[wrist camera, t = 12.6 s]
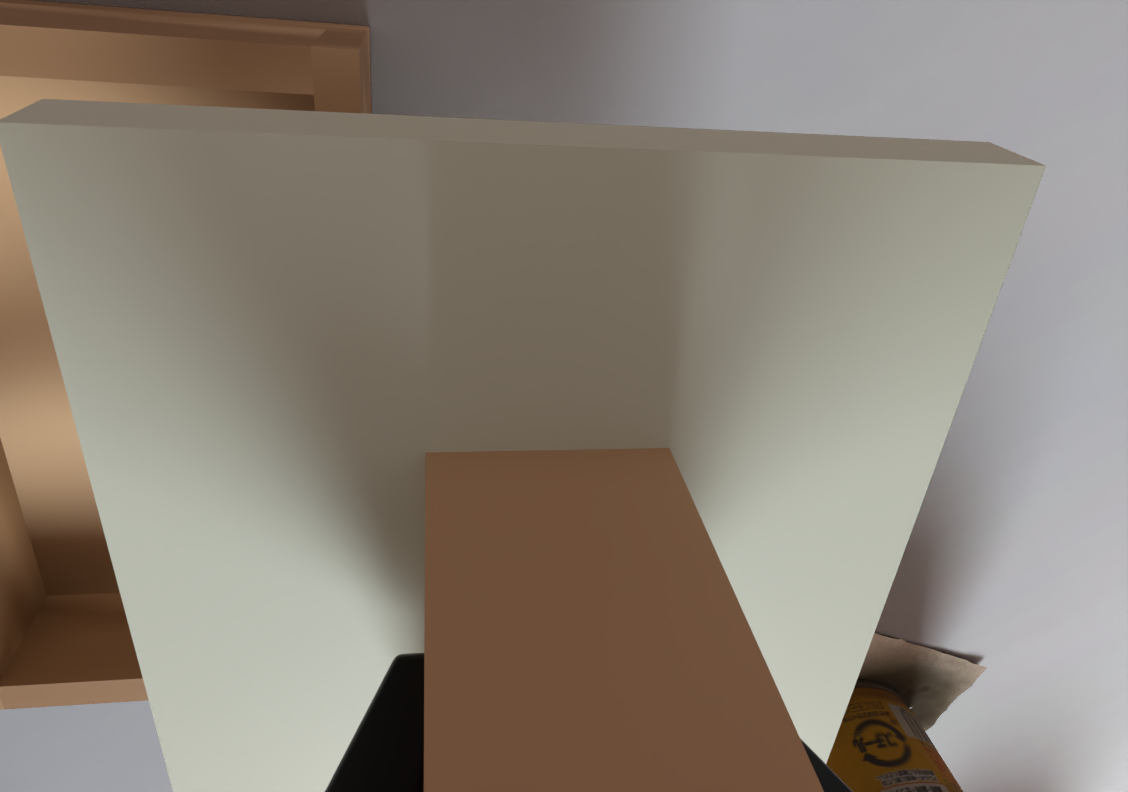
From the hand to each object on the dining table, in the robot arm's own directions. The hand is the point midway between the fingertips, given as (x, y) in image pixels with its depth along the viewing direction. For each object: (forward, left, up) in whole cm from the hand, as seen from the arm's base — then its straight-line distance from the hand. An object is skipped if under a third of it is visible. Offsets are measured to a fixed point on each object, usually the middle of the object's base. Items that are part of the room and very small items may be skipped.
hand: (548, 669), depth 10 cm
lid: (-2, 0, -2) cm, 3 cm away
